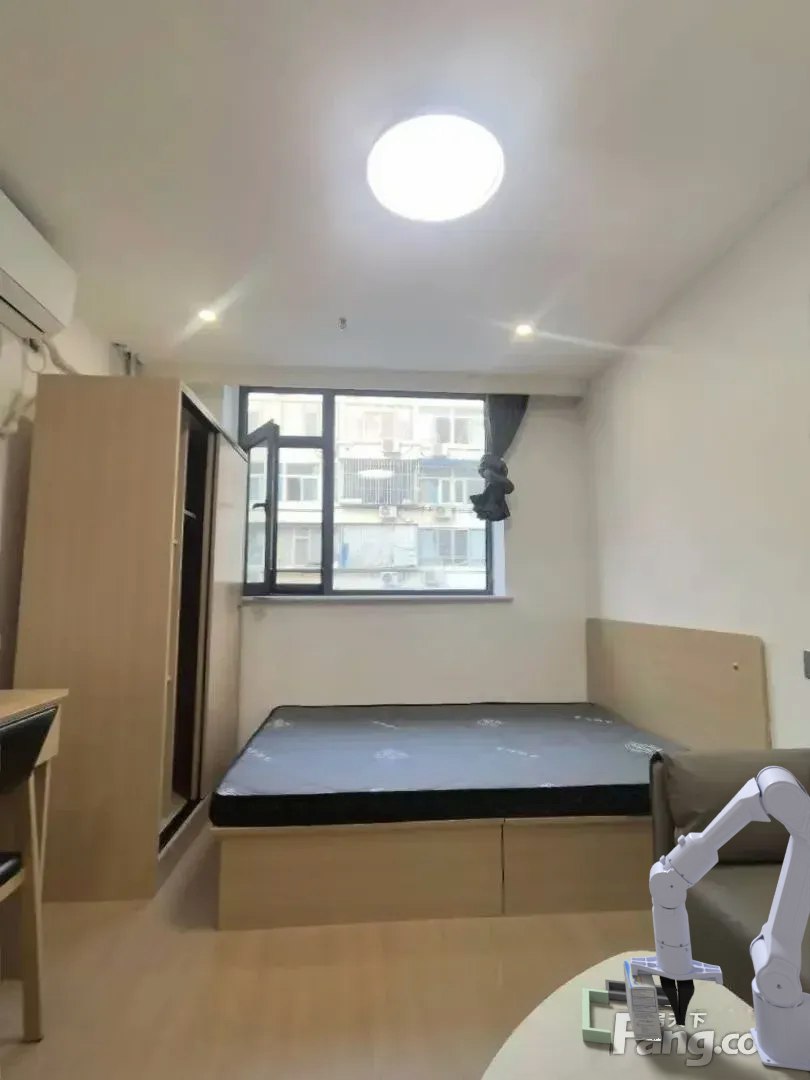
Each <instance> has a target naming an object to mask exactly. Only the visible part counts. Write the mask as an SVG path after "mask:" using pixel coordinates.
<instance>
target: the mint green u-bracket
mask: <svg viewBox="0 0 810 1080" xmlns="http://www.w3.org/2000/svg"><path fill="white" fill-rule="evenodd" d="M581 991H582V992H581V994H582V995H581V1001H582V1002H581V1007H582V1008H581V1016H582V1017H581V1030H582V1031H581V1033H582V1041H585V1042H591V1043H592V1042H593V1043H598V1044H599V1043H601V1044H606V1043H609V1044H608V1045H611V1044H610V1043H612V1034H611V1032H612V1031H611V1030H610V1029H603V1028H594V1027H591V1002H595V1003H605V1004H609V1003H610V1000H609V997H608V991H606V989H605V990H604V989H596V988H595V989H594V988H586V987H582V988H581Z"/></svg>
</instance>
